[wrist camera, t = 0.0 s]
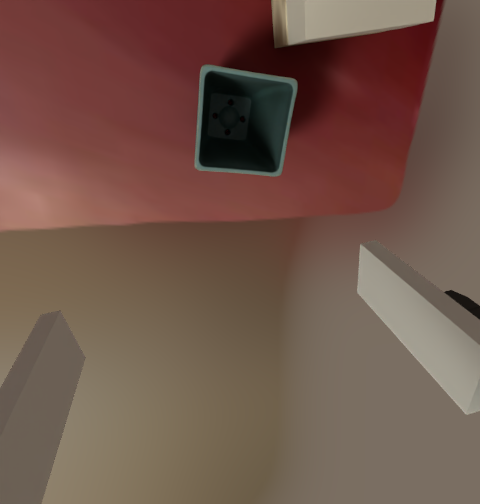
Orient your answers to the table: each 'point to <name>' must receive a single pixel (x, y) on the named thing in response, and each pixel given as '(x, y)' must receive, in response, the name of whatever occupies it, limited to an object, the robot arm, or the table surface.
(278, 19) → the bottom slab
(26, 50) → the table surface
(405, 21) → the top slab
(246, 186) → the table surface
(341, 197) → the table surface
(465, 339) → the robot arm
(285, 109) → the flower pot
